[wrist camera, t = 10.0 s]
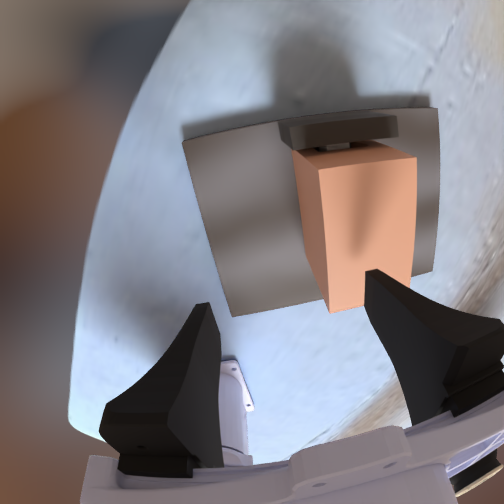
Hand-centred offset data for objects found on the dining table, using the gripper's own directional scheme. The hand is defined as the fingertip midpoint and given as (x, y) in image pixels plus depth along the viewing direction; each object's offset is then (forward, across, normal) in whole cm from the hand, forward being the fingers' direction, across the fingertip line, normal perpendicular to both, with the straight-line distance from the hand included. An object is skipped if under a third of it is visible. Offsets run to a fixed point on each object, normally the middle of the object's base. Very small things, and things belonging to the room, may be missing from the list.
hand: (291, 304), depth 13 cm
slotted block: (+8, -5, -1) cm, 10 cm away
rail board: (+9, -5, 0) cm, 10 cm away
